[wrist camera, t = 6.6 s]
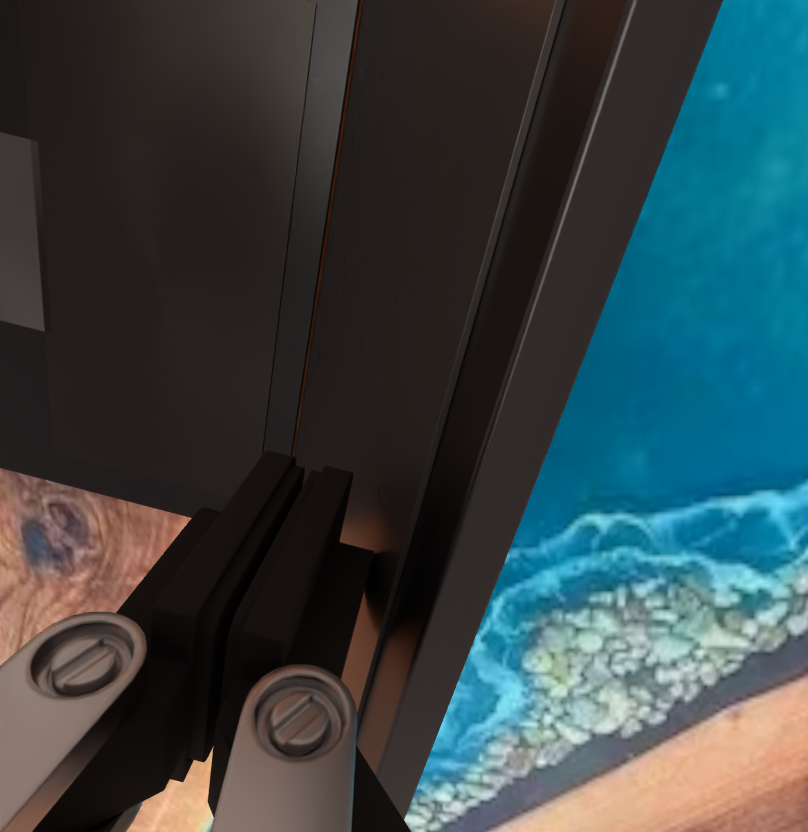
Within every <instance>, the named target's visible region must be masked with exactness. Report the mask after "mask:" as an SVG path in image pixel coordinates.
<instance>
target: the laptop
mask: <svg viewBox="0 0 808 832" xmlns="http://www.w3.org/2000/svg"><path fill="white" fill-rule="evenodd" d="M362 5H363V0H0V468H2V469H6V470H10V471H14V472H18V473H21V474H25V475H29V476H33V477H37V478H41V479H44V480H48V481H52V482H56V483H60V484H64V485H67V486H71V487H75V488H79V489H83V490H87V491H90V492H94V493H98V494H102V495H106V496H110V497H114V498H117V499H121V500H125V501H129V502H133V503H137V504H140V505H144V506H148V507H152V508H156V509H160V510H163V511H167V512H171V513H175V514H179V515H183V516H186V517H190V518H192V517H193V516H194V515H195V514H196V513H197V512H198V511H199V510H200V509H201V508H204V507H206V508H210V509H214V510H218V511H222V510H223V508H224V507H225V506H226V504H227V503H228V501H229V500H230V499H231V497H232V496H233V495H234V493H235V492H236V491H237V489H238V488H239V486H240V485H241V484H242V482H243V481H244V480H245V478H246V477H247V475H248V474H249V473H250V471H251V470H252V469H253V467H254V466H255V465H256V463H257V462H258V460H259V459H260V458H261V456H262V455H263V454H264V452H265V451H272V452H276V453H280V454H284V455H288V456H292V457H294V455H295V448H296V442H297V435H298V429H299V422H300V415H301V409H302V402H303V395H304V389H305V382H306V376H307V369H308V362H309V356H310V349H311V342H312V336H313V329H314V323H315V316H316V309H317V303H318V296H319V289H320V283H321V276H322V270H323V263H324V256H325V250H326V243H327V236H328V230H329V223H330V217H331V210H332V203H333V197H334V190H335V183H336V177H337V170H338V164H339V157H340V150H341V144H342V137H343V131H344V124H345V117H346V111H347V104H348V97H349V91H350V84H351V78H352V71H353V64H354V58H355V51H356V44H357V38H358V31H359V25H360V18H361V11H362Z"/></svg>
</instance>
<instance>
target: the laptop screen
mask: <svg viewBox="0 0 808 832" xmlns="http://www.w3.org/2000/svg"><path fill="white" fill-rule="evenodd" d="M722 2H723V0H363V5H362V11H361V18H360V25H359V31H358V38H357V44H356V51H355V58H354V64H353V71H352V78H351V84H350V91H349V97H348V104H347V111H346V117H345V124H344V131H343V137H342V144H341V150H340V157H339V164H338V170H337V177H336V183H335V190H334V197H333V203H332V210H331V217H330V223H329V230H328V236H327V243H326V250H325V256H324V263H323V270H322V276H321V283H320V289H319V296H318V303H317V309H316V316H315V323H314V329H313V336H312V342H311V349H310V356H309V362H308V369H307V376H306V382H305V389H304V395H303V402H302V409H301V415H300V422H299V429H298V435H297V442H296V448H295V455H294V457H295V458H296V466H300V467H303V468H305V474H304V480H303V485H304V483H305V482H306V480H307V478H308V476H309V474H310V472H311V471H312V470H315V471H319V472H322V470H323V468H324V466H325V465H326V466H330V467H334V468H338V469H342V470H346V471H350V472H353V480H352V485H351V490H350V494H349V499H348V504H347V509H346V513H345V518H344V523H343V527H342V532H341V537H340V542H341V543H345V544H349V545H353V546H357V547H361V548H364V549H368V550H372V551H374V554H373V558H372V562H371V566H370V570H369V574H368V578H367V582H366V586H365V590H364V594H363V598H362V602H361V606H360V609H359V613H358V617H357V621H356V625H355V629H354V632H353V636H352V640H351V644H350V648H349V651H348V655H347V659H346V663H345V667H344V670H343V674H342V678H341V681H342V682H343V683H344V684H345V685H346V686H347V687H348V688H349V690H350V692H351V694H352V697H353V699H354V701H355V703H356V712H357V736H356V745H357V747H358V748H359V750H360V752H361V753H362V755H363V756H364V758H365V760H366V761H367V763H368V764H369V766H370V767H371V769H372V771H373V772H374V774H375V775H376V777H377V779H378V780H379V782H380V783H381V785H382V786H383V788H384V790H385V791H386V793H387V794H388V796H389V798H390V799H391V801H392V802H393V804H394V805H395V807H396V809H397V810H398V812H399V813H400V815H401V817H402V818H403V820H404V819H405V816H406V814H407V811H408V808H409V806H410V803H411V801H412V798H413V796H414V793H415V790H416V788H417V785H418V783H419V780H420V778H421V775H422V772H423V770H424V767H425V765H426V762H427V760H428V757H429V755H430V752H431V749H432V747H433V744H434V742H435V739H436V737H437V734H438V731H439V729H440V726H441V724H442V721H443V719H444V716H445V713H446V711H447V708H448V706H449V703H450V701H451V698H452V695H453V693H454V690H455V688H456V685H457V683H458V680H459V677H460V675H461V672H462V670H463V667H464V665H465V662H466V659H467V657H468V654H469V652H470V649H471V647H472V644H473V642H474V639H475V636H476V634H477V631H478V629H479V626H480V624H481V621H482V618H483V616H484V613H485V611H486V608H487V606H488V603H489V600H490V598H491V595H492V593H493V590H494V588H495V585H496V582H497V580H498V577H499V575H500V572H501V570H502V567H503V564H504V562H505V559H506V557H507V554H508V552H509V549H510V546H511V544H512V541H513V539H514V536H515V534H516V531H517V528H518V526H519V523H520V521H521V518H522V516H523V513H524V511H525V508H526V505H527V503H528V500H529V498H530V495H531V493H532V490H533V487H534V485H535V482H536V480H537V477H538V475H539V472H540V469H541V467H542V464H543V462H544V459H545V457H546V454H547V451H548V449H549V446H550V444H551V441H552V439H553V436H554V433H555V431H556V428H557V426H558V423H559V421H560V418H561V415H562V413H563V410H564V408H565V405H566V403H567V400H568V398H569V395H570V392H571V390H572V387H573V385H574V382H575V380H576V377H577V374H578V372H579V369H580V367H581V364H582V362H583V359H584V356H585V354H586V351H587V349H588V346H589V344H590V341H591V338H592V336H593V333H594V331H595V328H596V326H597V323H598V320H599V318H600V315H601V313H602V310H603V308H604V305H605V302H606V300H607V297H608V295H609V292H610V290H611V287H612V285H613V282H614V279H615V277H616V274H617V272H618V269H619V267H620V264H621V261H622V259H623V256H624V254H625V251H626V249H627V246H628V243H629V241H630V238H631V236H632V233H633V231H634V228H635V225H636V223H637V220H638V218H639V215H640V213H641V210H642V207H643V205H644V202H645V200H646V197H647V195H648V192H649V189H650V187H651V184H652V182H653V179H654V177H655V174H656V172H657V169H658V166H659V164H660V161H661V159H662V156H663V154H664V151H665V148H666V146H667V143H668V141H669V138H670V136H671V133H672V130H673V128H674V125H675V123H676V120H677V118H678V115H679V112H680V110H681V107H682V105H683V102H684V100H685V97H686V94H687V92H688V89H689V87H690V84H691V82H692V79H693V76H694V74H695V71H696V69H697V66H698V64H699V61H700V58H701V56H702V53H703V51H704V48H705V46H706V43H707V41H708V38H709V35H710V33H711V30H712V28H713V25H714V23H715V20H716V17H717V15H718V12H719V10H720V7H721V5H722ZM302 487H303V486H302Z"/></svg>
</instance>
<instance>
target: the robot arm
mask: <svg viewBox="0 0 808 832" xmlns="http://www.w3.org/2000/svg"><path fill="white" fill-rule="evenodd" d="M304 474H305V468H303V467H300V466H296V458H295V457H292V456H288V455H284V454H280V453H276V452H272V451H265V452H264V454H263V455H262V456H261V458H260V459H259V460H258V462H257V463H256V465H255V466H254V467H253V469H252V470H251V471H250V473H249V474H248V475H247V477H246V478H245V480H244V481H243V482H242V484H241V485H240V486H239V488H238V489H237V491H236V492H235V493H234V495H233V496H232V497H231V499H230V500H229V501H228V503H227V504H226V506H225V507H224V508H223V510H222V511H218V510H214V509H210V508H206V507H204V508H201V509H200V510H199V511H198V512H197V513H196V514H195V515H194V516H193V517H192V519H191V520H190V521H189V522H188V524H187V525H186V526H185V527H184V529H183V530H182V531H181V532H180V534H179V535H178V536H177V537H176V539H175V540H174V541H173V542H172V544H171V545H170V546H169V547H168V549H167V550H166V551H165V552H164V554H163V555H162V556H161V557H160V559H159V560H158V561H157V562H156V564H155V565H154V566H153V567H152V569H151V570H150V571H149V572H148V574H147V575H146V576H145V577H144V579H143V580H142V581H141V582H140V584H139V585H138V586H137V587H136V589H135V590H134V591H133V592H132V594H131V595H130V596H129V597H128V599H127V600H126V601H125V602H124V604H123V605H122V606H121V607H120V609H119V610H118V611H117V612H116V613H112V612H88V613H83V614H78V615H73V616H70V617H68V618H65V619H63V620H61V621H58V622H56V623H53V624H52V625H50V626H49V627H47V628H46V629H45V630H43V631H42V632H40V633H39V634H37V635H36V636H35V637H33V638H32V639H31V640H30V641H29V642H28V643H26V644H25V645H24V646H23V647H22V648H21V649H19V650H18V651H17V652H16V653H15V654H14V655H12V656H11V657H10V658H9V659H8V660H7V661H5V662H4V663H3V664H2V665H1V666H0V832H126V831H127V830H128V828H129V827H130V825H131V824H132V822H133V821H134V819H135V817H136V815H137V813H138V811H139V809H140V807H141V805H142V802H143V801H144V800H146V799H148V798H150V797H152V796H154V795H156V794H158V793H160V792H162V791H164V789H165V787H166V785H167V783H168V781H169V779H172V780H176V781H180V782H184V780H185V777H186V775H187V773H188V771H189V769H190V767H191V765H192V763H193V761H194V760H197V761H201V762H205V761H206V760H207V758H208V756H209V754H210V752H211V750H212V748H213V756H212V766H211V776H210V785H209V795H208V804H209V806H210V809H211V811H212V814H213V817H214V820H213V824H212V828H211V832H411V831H410V829H409V828H408V826H407V824H406V823H405V821H404V820H403V818H402V817H401V815H400V813H399V812H398V810H397V809H396V807H395V805H394V804H393V802H392V801H391V799H390V798H389V796H388V794H387V793H386V791H385V790H384V788H383V786H382V785H381V783H380V782H379V780H378V779H377V777H376V775H375V774H374V772H373V771H372V769H371V767H370V766H369V764H368V763H367V761H366V760H365V758H364V756H363V755H362V753H361V752H360V750H359V748H358V747H357V745H356V736H357V712H356V703H355V701H354V699H353V697H352V694H351V692H350V690H349V688H348V687H347V686H346V685H345V684H344V683H343V682H342V681H341V678H342V674H343V670H344V667H345V663H346V659H347V655H348V651H349V648H350V644H351V640H352V636H353V632H354V629H355V625H356V621H357V617H358V613H359V609H360V606H361V602H362V598H363V594H364V590H365V586H366V582H367V578H368V574H369V570H370V566H371V562H372V558H373V554H374V551H372V550H368V549H364V548H361V547H357V546H353V545H349V544H345V543H341V542H340V537H341V532H342V527H343V523H344V518H345V513H346V509H347V504H348V499H349V494H350V490H351V485H352V480H353V472H350V471H346V470H342V469H338V468H334V467H330V466H326V465H325V466H324V468H323V470H322V472H319V471H315V470H312V471H311V472H310V474H309V476H308V478H307V480H306V482H305V483H304V485H303V480H304ZM302 486H303V487H302ZM213 746H214V747H213Z"/></svg>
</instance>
